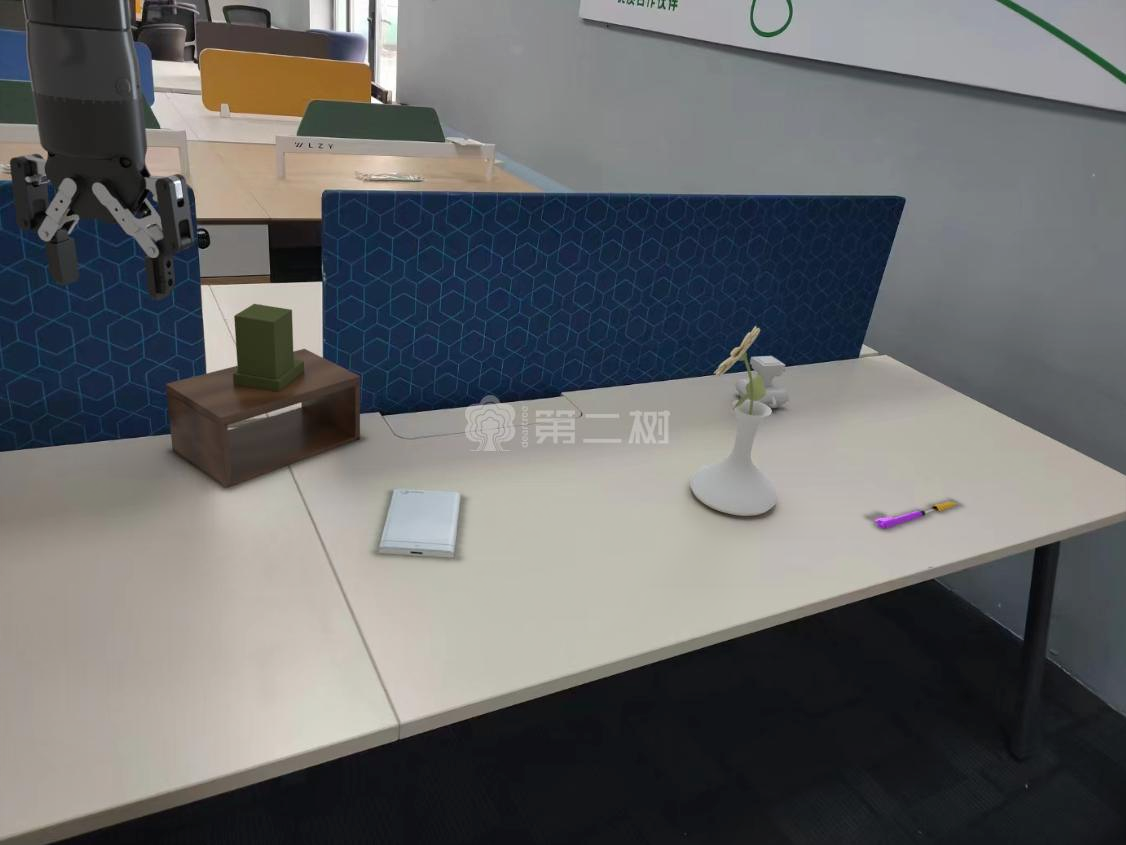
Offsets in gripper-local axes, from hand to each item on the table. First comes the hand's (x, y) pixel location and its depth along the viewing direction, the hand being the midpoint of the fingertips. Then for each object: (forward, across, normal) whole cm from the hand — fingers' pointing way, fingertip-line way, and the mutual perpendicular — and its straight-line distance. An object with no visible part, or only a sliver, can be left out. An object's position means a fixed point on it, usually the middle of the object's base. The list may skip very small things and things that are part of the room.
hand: (113, 289), depth 72 cm
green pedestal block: (+20, +1, -28) cm, 35 cm away
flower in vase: (+30, -59, -35) cm, 75 cm away
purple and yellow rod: (+30, -85, -40) cm, 98 cm away
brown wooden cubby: (+30, +1, -28) cm, 41 cm away
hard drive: (+30, -23, -16) cm, 42 cm away
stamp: (+30, -66, -70) cm, 100 cm away
